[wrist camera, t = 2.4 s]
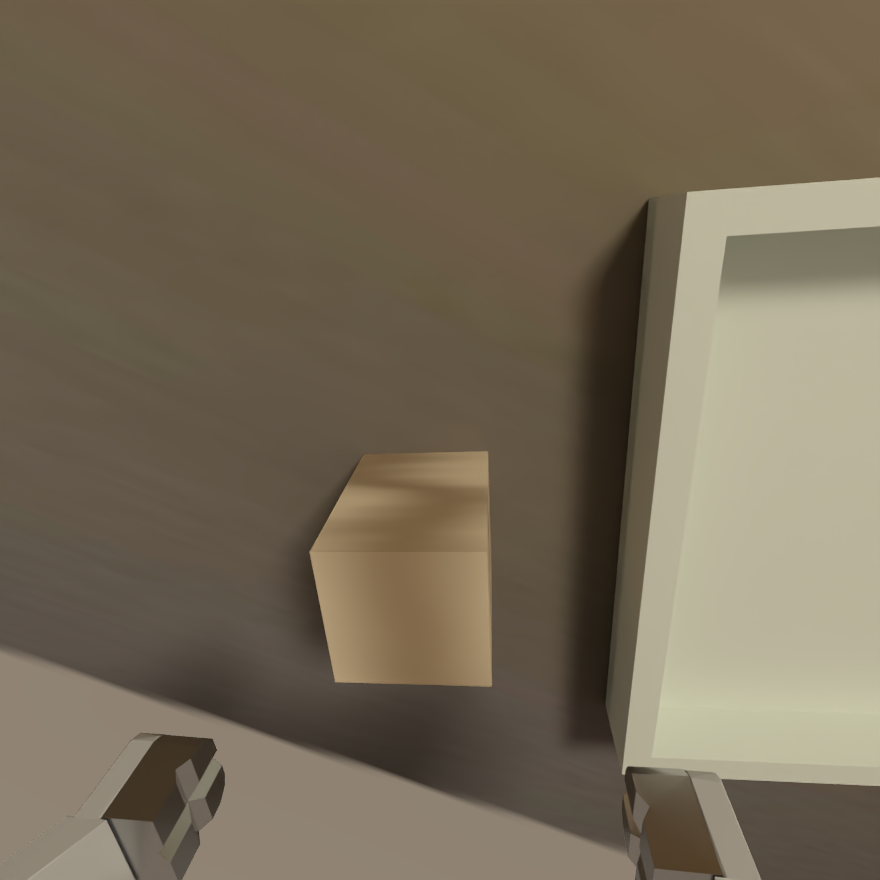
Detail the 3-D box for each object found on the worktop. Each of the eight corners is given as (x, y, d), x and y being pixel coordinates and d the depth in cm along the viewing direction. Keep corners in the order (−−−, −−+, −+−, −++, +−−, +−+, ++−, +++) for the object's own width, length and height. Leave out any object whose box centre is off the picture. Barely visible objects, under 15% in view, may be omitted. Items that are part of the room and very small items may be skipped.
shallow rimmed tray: (605, 705, 22) (621, 774, 19) (648, 198, 14) (687, 192, 11) (959, 716, 20) (1033, 792, 18) (1224, 155, 13) (1427, 136, 10)
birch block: (377, 556, 20) (335, 682, 14) (363, 454, 18) (309, 552, 13) (491, 556, 20) (491, 686, 14) (488, 451, 18) (487, 552, 12)
